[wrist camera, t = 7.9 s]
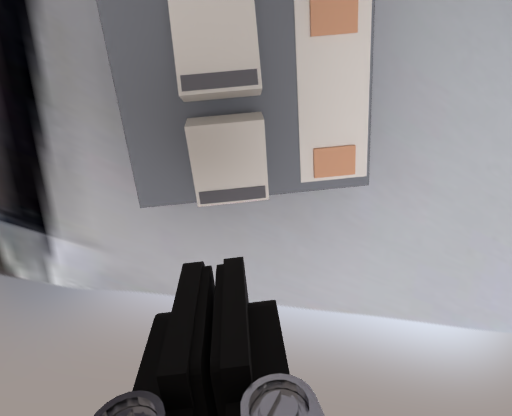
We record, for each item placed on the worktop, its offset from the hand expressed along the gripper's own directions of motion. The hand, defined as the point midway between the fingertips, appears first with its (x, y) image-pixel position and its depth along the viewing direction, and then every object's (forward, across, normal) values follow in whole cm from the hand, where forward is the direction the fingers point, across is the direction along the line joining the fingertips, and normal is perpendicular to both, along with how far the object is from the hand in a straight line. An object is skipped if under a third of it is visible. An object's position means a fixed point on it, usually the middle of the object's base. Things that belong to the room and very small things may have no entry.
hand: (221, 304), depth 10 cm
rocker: (+13, 0, -1) cm, 13 cm away
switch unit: (+19, -2, -7) cm, 21 cm away
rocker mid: (+13, 0, -7) cm, 15 cm away
